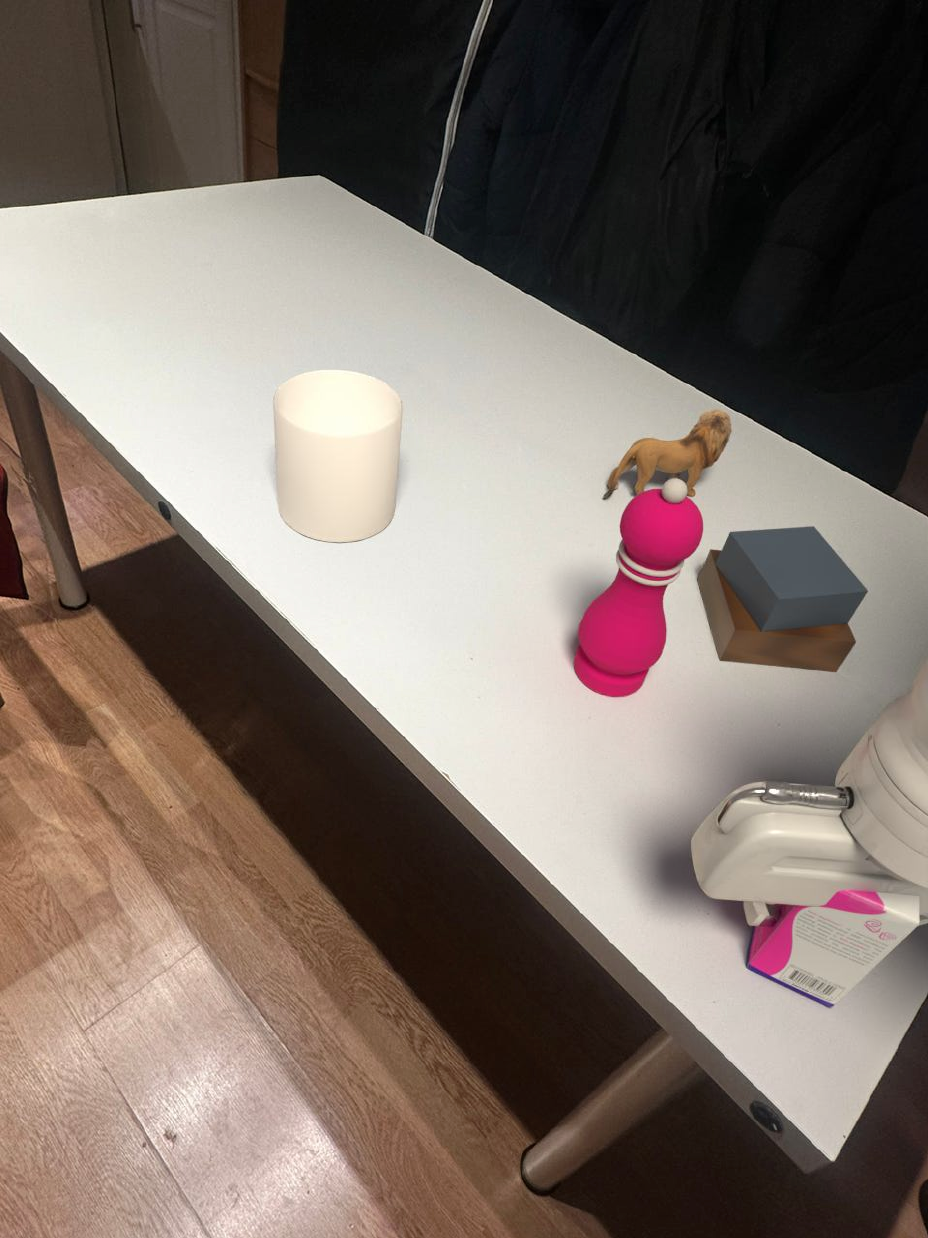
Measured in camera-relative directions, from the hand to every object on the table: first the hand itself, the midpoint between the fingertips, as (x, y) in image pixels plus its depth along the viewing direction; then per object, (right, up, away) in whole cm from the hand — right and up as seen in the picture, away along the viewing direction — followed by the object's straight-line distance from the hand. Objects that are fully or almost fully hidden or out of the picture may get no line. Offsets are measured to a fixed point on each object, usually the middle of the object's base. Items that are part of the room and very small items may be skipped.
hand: (820, 920), depth 52 cm
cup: (-36, +30, +31) cm, 56 cm away
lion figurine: (-1, +34, +41) cm, 53 cm away
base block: (+6, +19, +26) cm, 33 cm away
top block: (+6, +22, +23) cm, 32 cm away
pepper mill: (-10, +15, +19) cm, 26 cm away
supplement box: (-1, -3, +3) cm, 4 cm away
